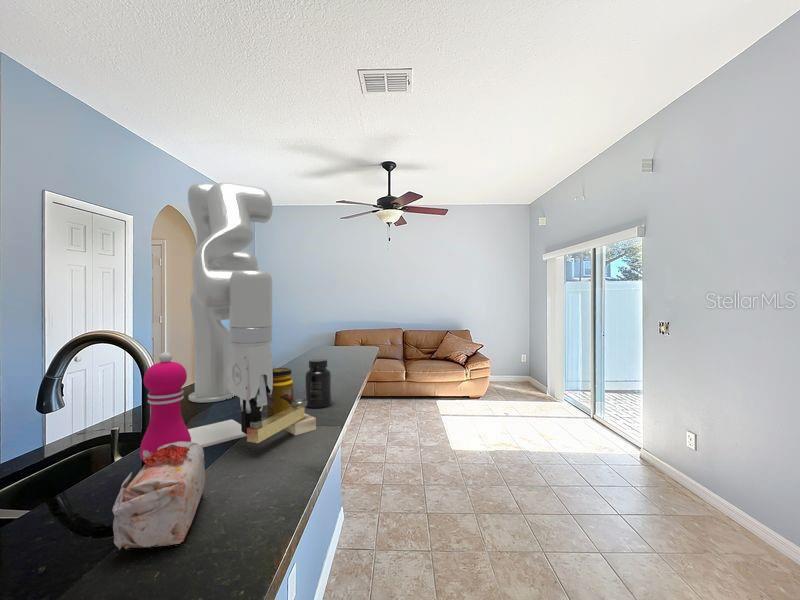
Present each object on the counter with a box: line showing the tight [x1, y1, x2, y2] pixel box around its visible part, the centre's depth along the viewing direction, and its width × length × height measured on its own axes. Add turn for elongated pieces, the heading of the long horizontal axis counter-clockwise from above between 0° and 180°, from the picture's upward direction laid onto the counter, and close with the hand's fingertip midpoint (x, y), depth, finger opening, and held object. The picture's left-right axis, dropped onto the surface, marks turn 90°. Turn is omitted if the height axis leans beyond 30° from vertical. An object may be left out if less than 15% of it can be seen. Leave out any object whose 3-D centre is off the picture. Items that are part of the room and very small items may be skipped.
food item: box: [112, 442, 206, 551], centre depth 49 cm, size 14×8×10 cm, turn 19°
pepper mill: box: [139, 351, 191, 462], centre depth 62 cm, size 7×7×20 cm
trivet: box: [187, 419, 247, 448], centre depth 80 cm, size 11×11×1 cm
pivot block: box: [283, 413, 317, 436], centre depth 82 cm, size 5×5×2 cm
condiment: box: [265, 367, 294, 418], centre depth 88 cm, size 7×8×12 cm
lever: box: [246, 398, 307, 444], centre depth 76 cm, size 3×17×3 cm, turn 162°
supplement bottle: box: [304, 358, 332, 409], centre depth 101 cm, size 7×7×12 cm
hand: (251, 431), depth 72 cm, fingers closed
